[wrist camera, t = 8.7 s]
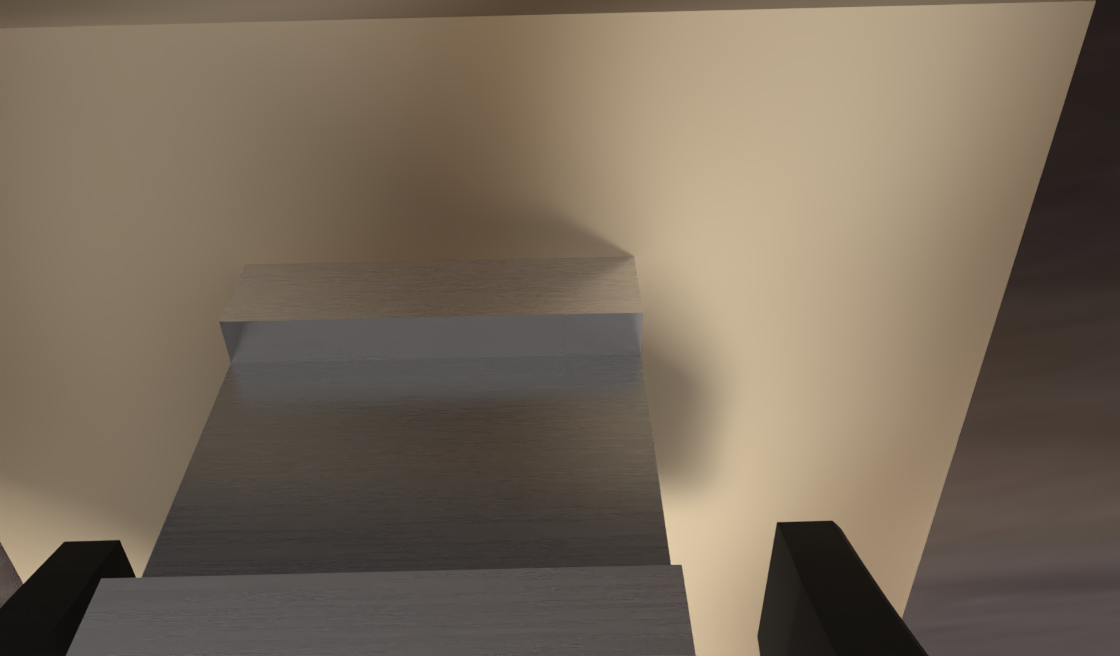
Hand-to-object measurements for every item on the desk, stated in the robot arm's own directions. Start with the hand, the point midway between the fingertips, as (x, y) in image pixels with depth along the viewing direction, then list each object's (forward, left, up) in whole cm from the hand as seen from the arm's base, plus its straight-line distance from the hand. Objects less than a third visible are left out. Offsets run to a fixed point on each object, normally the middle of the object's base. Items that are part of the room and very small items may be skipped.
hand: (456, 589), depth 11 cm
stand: (0, 0, -3) cm, 3 cm away
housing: (0, 0, -1) cm, 1 cm away
